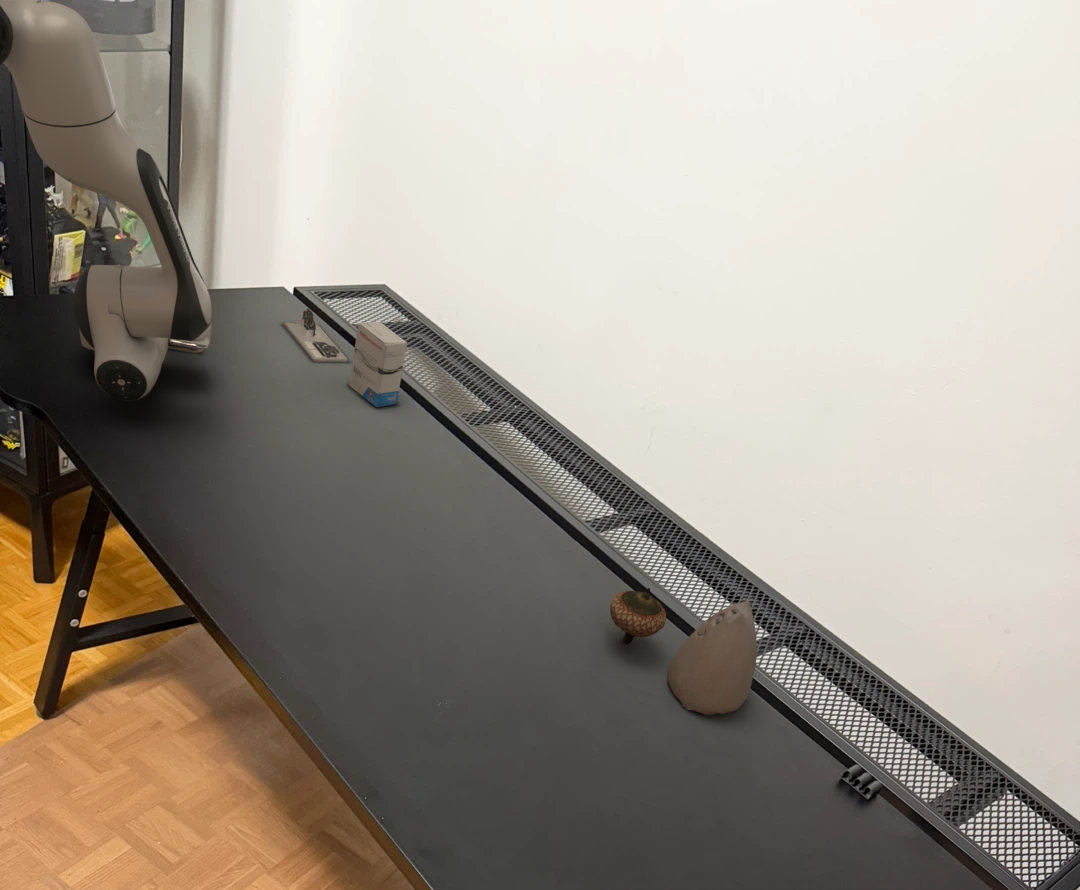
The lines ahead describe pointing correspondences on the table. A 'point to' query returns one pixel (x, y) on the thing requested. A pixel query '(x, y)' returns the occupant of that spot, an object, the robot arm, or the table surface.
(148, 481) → the table surface
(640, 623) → the acorn
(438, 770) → the table surface
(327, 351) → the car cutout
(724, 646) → the sculpture
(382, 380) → the ink box
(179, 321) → the robot arm
